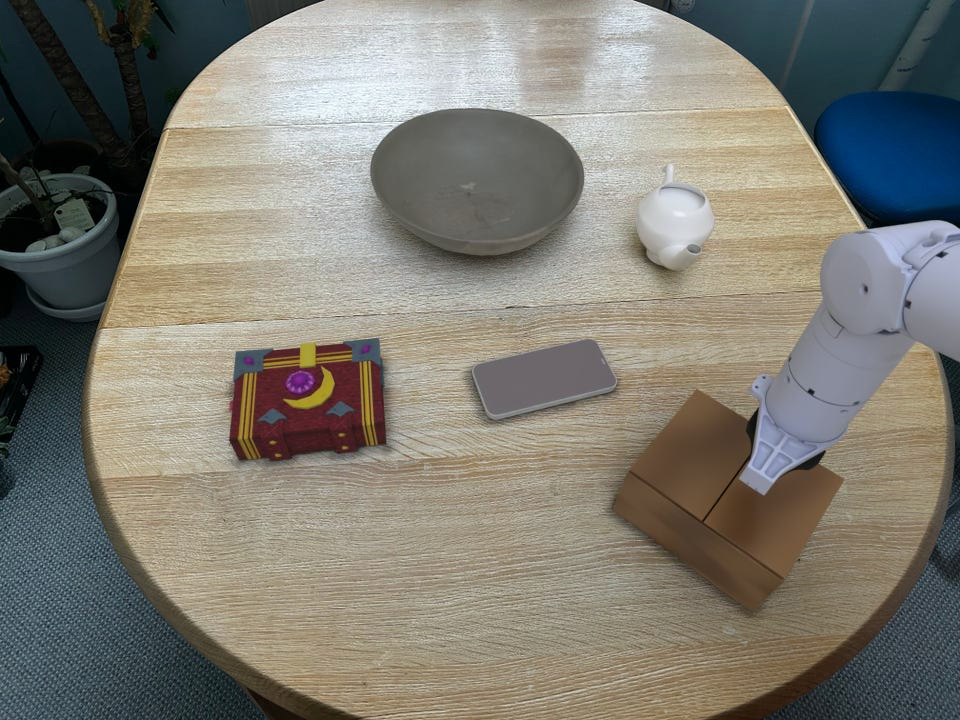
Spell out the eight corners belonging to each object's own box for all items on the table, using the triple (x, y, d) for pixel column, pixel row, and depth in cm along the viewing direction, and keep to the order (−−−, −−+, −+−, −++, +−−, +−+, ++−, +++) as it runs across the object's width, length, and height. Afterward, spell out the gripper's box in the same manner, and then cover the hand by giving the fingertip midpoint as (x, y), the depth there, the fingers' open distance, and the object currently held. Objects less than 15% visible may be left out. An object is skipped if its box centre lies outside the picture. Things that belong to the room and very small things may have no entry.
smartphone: (469, 364, 75) (594, 336, 78) (469, 369, 76) (593, 341, 78) (489, 418, 70) (620, 385, 73) (488, 423, 71) (619, 390, 74)
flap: (843, 480, 59) (844, 479, 59) (784, 579, 53) (785, 577, 53) (766, 434, 62) (767, 432, 62) (703, 522, 56) (704, 521, 56)
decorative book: (388, 448, 69) (384, 421, 65) (227, 467, 67) (212, 440, 63) (382, 362, 76) (378, 333, 72) (235, 377, 74) (223, 348, 70)
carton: (808, 519, 65) (845, 479, 59) (751, 612, 59) (786, 578, 53) (675, 433, 71) (696, 387, 65) (612, 509, 65) (628, 468, 59)
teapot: (688, 206, 94) (707, 149, 87) (714, 311, 82) (738, 255, 75) (619, 204, 94) (633, 146, 87) (635, 308, 82) (652, 251, 75)
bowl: (362, 286, 83) (354, 235, 77) (388, 153, 101) (383, 102, 94) (583, 294, 83) (593, 243, 77) (570, 159, 101) (578, 109, 94)
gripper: (819, 287, 51) (758, 392, 61) (727, 404, 44) (675, 500, 54) (914, 335, 48) (832, 436, 59) (831, 468, 41) (755, 556, 52)
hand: (761, 471), depth 56 cm, fingers closed
